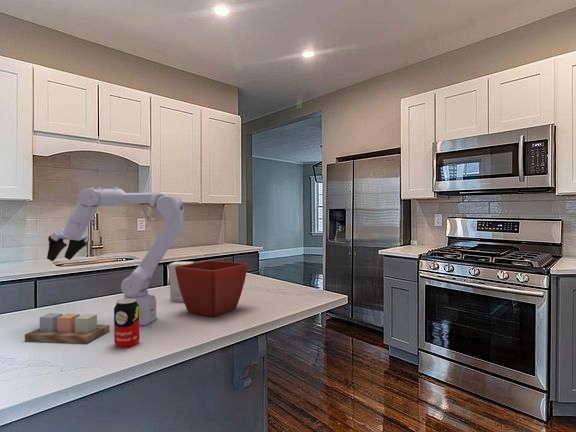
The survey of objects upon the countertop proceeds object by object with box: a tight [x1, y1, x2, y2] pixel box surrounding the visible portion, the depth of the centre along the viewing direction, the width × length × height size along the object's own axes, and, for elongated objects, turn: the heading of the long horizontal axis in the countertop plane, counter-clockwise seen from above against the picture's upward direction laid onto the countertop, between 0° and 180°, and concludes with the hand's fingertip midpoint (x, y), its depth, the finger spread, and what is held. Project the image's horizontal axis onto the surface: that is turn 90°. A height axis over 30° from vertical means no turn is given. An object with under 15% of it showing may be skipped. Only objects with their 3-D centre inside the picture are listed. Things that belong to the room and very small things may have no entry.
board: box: [24, 324, 111, 345], centre depth 104 cm, size 19×10×2 cm, turn 84°
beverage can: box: [113, 298, 141, 348], centre depth 98 cm, size 6×6×12 cm
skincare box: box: [168, 261, 194, 303], centre depth 145 cm, size 8×7×16 cm
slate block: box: [39, 312, 64, 332], centre depth 105 cm, size 4×4×4 cm
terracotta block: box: [57, 313, 81, 333], centre depth 104 cm, size 4×4×4 cm
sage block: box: [75, 313, 98, 333], centre depth 104 cm, size 4×4×4 cm
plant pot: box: [175, 260, 248, 317], centre depth 130 cm, size 19×19×17 cm
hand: (58, 259), depth 116 cm, fingers open, 7 cm apart
